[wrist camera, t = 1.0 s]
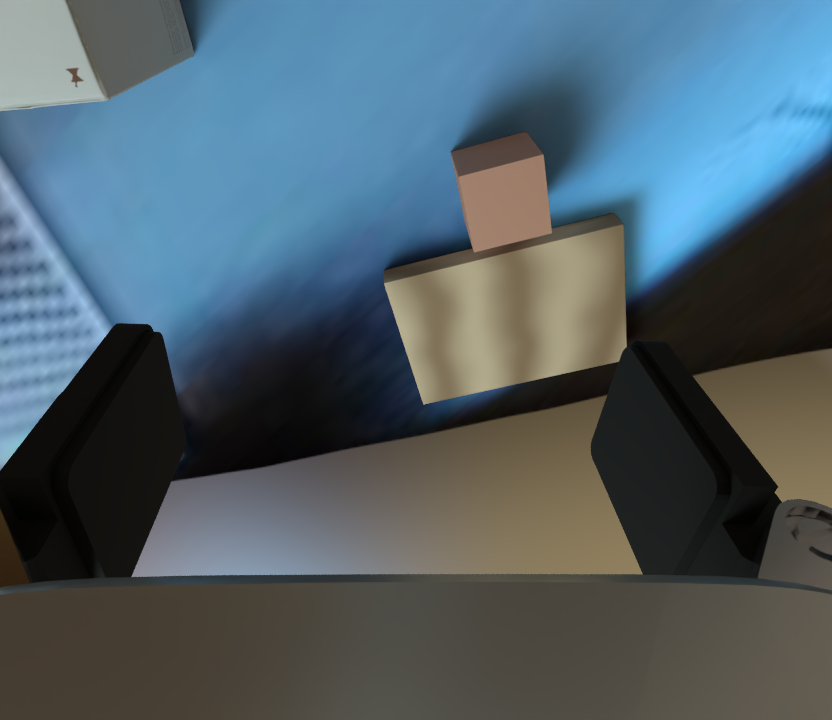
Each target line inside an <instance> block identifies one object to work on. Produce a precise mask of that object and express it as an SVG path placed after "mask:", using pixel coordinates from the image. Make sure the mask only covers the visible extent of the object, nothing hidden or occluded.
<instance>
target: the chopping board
mask: <svg viewBox="0 0 832 720" xmlns="http://www.w3.org/2000/svg"><path fill="white" fill-rule="evenodd" d="M384 285H385V288H386V291H387V294H388V297H389V300H390V303H391V306H392V309H393V313H394V316H395V319H396V322H397V325H398V328H399V331H400V334H401V337H402V340H403V343H404V346H405V349H406V352H407V355H408V359H409V362H410V365H411V368H412V371H413V374H414V377H415V380H416V383H417V386H418V389H419V392H420V395H421V398H422V401H423V404H428V403H432V402H437V401H441V400H446V399H450V398H455V397H459V396H464V395H469V394H473V393H478V392H482V391H487V390H491V389H496V388H500V387H505V386H509V385H514V384H519V383H523V382H528V381H532V380H537V379H541V378H546V377H550V376H555V375H560V374H564V373H569V372H573V371H578V370H582V369H587V368H591V367H596V366H600V365H605V364H610V363H614V362H619V360H620V357H621V354H622V352H623V350H624V349H625V348H626V347H627V346H626V300H625V253H624V224H623V223H622V221H621V220H620V219H619V218H618V217H617V216H616V215H615V213H612V214H608V215H604V216H600V217H596V218H592V219H588V220H584V221H580V222H576V223H572V224H568V225H564V226H560V227H556V228H552V233H551V234H547V235H543V236H539V237H535V238H531V239H527V240H523V241H519V242H515V243H511V244H507V245H502V246H498V247H494V248H490V249H486V250H482V251H478V252H474V251H473V248H472V249H468V250H464V251H460V252H456V253H452V254H448V255H444V256H440V257H436V258H432V259H428V260H424V261H419V262H415V263H411V264H407V265H403V266H399V267H395V268H391V269H387V270H384Z"/></svg>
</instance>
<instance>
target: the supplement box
mask: <svg viewBox="0 0 832 720" xmlns="http://www.w3.org/2000/svg"><path fill="white" fill-rule="evenodd" d="M193 56H194V51H193V47H192V43H191V40H190V36H189V32H188V29H187V25H186V22H185V18H184V15H183V11H182V8H181V4H180V0H0V111H5V110H16V109H31V108H36V107H44V106H54V105H64V104H76V103H86V102H98V101H107V100H109V99H111V98H113V97H115V96H117V95H119V94H121V93H123V92H125V91H127V90H129V89H130V88H132V87H134V86H136V85H138V84H140V83H142V82H144V81H146V80H148V79H150V78H152V77H154V76H156V75H158V74H159V73H161V72H163V71H165V70H167V69H169V68H171V67H173V66H175V65H177V64H179V63H181V62H183V61H185V60H186V59H188V58H190V57H193Z"/></svg>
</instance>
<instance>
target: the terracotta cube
mask: <svg viewBox="0 0 832 720" xmlns="http://www.w3.org/2000/svg"><path fill="white" fill-rule="evenodd" d="M451 157H452V162H453V166H454V171H455V176H456V181H457V186H458V191H459V195H460V200H461V205H462V210H463V215H464V220H465V224H466V227H467V230H468V234H469V237H470V241H471V244H472V248H473V251H474V252H478V251H482V250H486V249H490V248H494V247H498V246H502V245H507V244H511V243H515V242H519V241H523V240H527V239H531V238H535V237H539V236H543V235H547V234H551V233H552V229H551V219H550V210H549V200H548V191H547V181H546V172H545V163H544V154H543V153H542V152H541V150H540V149H539V148H538V146H537V145H536V144H535V143H534V141H533V140H532V139H531V137H530V136H529V135H528V133H527V132H522V133H519V134H515V135H511V136H508V137H504V138H500V139H497V140H493V141H489V142H485V143H482V144H478V145H474V146H471V147H467V148H463V149H459V150H456V151H452V152H451Z"/></svg>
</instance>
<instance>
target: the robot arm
mask: <svg viewBox="0 0 832 720" xmlns="http://www.w3.org/2000/svg"><path fill="white" fill-rule="evenodd" d="M185 441H186V440H185V431H184V427H183V422H182V418H181V413H180V409H179V405H178V400H177V396H176V392H175V387H174V383H173V378H172V374H171V370H170V365H169V361H168V357H167V352H166V348H165V343H164V339H163V336H162V334H161V333H160V332H154V331H153V329H152V327H151V326H150V325H148V324H123V323H119V324H116V325H114V326H113V328H112V329H111V330H110V331H109V333H108V334H107V335H106V337H105V338H104V339H103V341H102V342H101V343H100V344H99V346H98V347H97V348H96V350H95V351H94V352H93V354H92V355H91V356H90V357H89V359H88V360H87V361H86V363H85V364H84V365H83V366H82V368H81V369H80V370H79V372H78V373H77V374H76V376H75V377H74V378H73V379H72V381H71V382H70V383H69V385H68V386H67V387H66V389H65V390H64V391H63V392H62V393H61V394H60V395H59V396H58V397H57V398H56V400H55V401H54V402H53V403H52V405H51V406H50V407H49V409H48V410H47V411H46V413H45V414H44V415H43V416H42V418H41V419H40V420H39V422H38V423H37V424H36V425H35V427H34V428H33V429H32V431H31V432H30V433H29V434H28V436H27V437H26V438H25V440H24V441H23V442H22V443H21V445H20V446H19V447H18V449H17V450H16V451H15V453H14V454H13V455H12V456H11V458H10V459H9V460H8V462H7V463H6V464H5V465H4V467H3V468H2V469H1V471H0V720H832V508H829V507H827V506H825V505H822V504H819V503H816V502H813V501H807V500H801V499H796V500H795V499H794V500H787V501H785V502H783V503H782V502H781V500H780V499H779V498H778V496H777V495H776V494H775V493H774V492H775V491H776V489H777V488H778V486H777V485H776V483H775V482H774V481H773V479H772V478H771V477H770V475H769V474H768V473H767V472H766V470H765V469H764V468H763V466H762V465H761V464H760V463H759V461H758V460H757V459H756V458H755V456H754V455H753V454H752V452H751V451H750V450H749V448H748V447H747V446H746V445H745V443H744V442H743V441H742V440H741V438H740V437H739V436H738V434H737V433H736V432H735V430H734V429H733V428H732V427H731V425H730V424H729V423H728V421H727V420H726V419H725V417H724V416H723V415H722V414H721V412H720V411H719V410H718V409H717V407H716V406H715V405H714V404H713V402H712V401H711V399H710V398H709V397H708V396H707V394H706V393H705V392H704V390H703V389H702V388H701V387H700V386H699V384H698V383H697V381H696V380H695V379H694V378H693V376H692V375H691V374H690V372H689V371H688V370H687V369H686V367H685V366H684V365H683V363H682V362H681V361H680V360H679V358H678V357H677V356H676V354H675V353H674V352H673V351H672V349H671V348H670V347H669V345H668V344H667V343H665V342H662V341H635V342H634V343H633V344H632V345H631V347H626V348H625V349H624V350H623V352H622V354H621V357H620V360H619V363H618V366H617V369H616V372H615V375H614V377H613V380H612V383H611V386H610V389H609V392H608V395H607V398H606V401H605V404H604V407H603V410H602V412H601V415H600V418H599V421H598V424H597V428H596V430H595V433H594V436H593V439H592V442H591V455H592V458H593V461H594V463H595V465H596V467H597V470H598V472H599V474H600V477H601V479H602V481H603V483H604V486H605V488H606V490H607V492H608V495H609V497H610V500H611V502H612V504H613V507H614V509H615V511H616V513H617V515H618V518H619V520H620V523H621V525H622V527H623V529H624V532H625V534H626V536H627V539H628V541H629V543H630V545H631V548H632V550H633V552H634V555H635V557H636V559H637V562H638V564H639V566H640V568H641V571H642V573H643V575H634V574H631V575H630V574H626V575H625V574H620V575H619V574H373V575H371V574H363V575H362V574H361V575H360V574H355V575H354V574H353V575H221V576H219V575H217V576H163V577H162V576H161V577H131V576H132V574H133V571H134V569H135V566H136V564H137V562H138V559H139V557H140V555H141V552H142V550H143V547H144V545H145V543H146V540H147V538H148V535H149V533H150V531H151V528H152V526H153V524H154V521H155V519H156V516H157V514H158V512H159V509H160V507H161V504H162V502H163V500H164V497H165V495H166V493H167V490H168V488H169V485H170V483H171V481H172V478H173V476H174V474H175V471H176V469H177V466H178V464H179V462H180V459H181V457H182V455H183V452H184V448H185Z"/></svg>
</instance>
